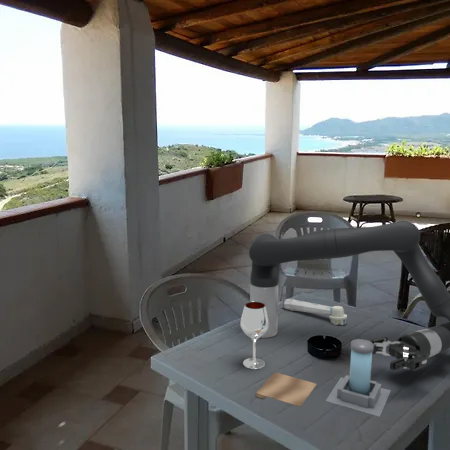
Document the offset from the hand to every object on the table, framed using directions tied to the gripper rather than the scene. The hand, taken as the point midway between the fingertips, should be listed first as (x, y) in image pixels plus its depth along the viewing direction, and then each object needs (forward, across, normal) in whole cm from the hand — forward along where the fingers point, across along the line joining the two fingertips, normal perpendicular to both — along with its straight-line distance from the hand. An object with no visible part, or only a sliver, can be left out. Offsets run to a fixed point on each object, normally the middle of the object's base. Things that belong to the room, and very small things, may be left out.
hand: (377, 359), depth 119 cm
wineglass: (+19, -28, +10) cm, 35 cm away
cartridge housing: (+6, 0, +9) cm, 11 cm away
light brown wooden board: (+20, -12, +9) cm, 25 cm away
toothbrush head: (-20, -47, +10) cm, 52 cm away
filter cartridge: (+6, 0, +8) cm, 10 cm away
